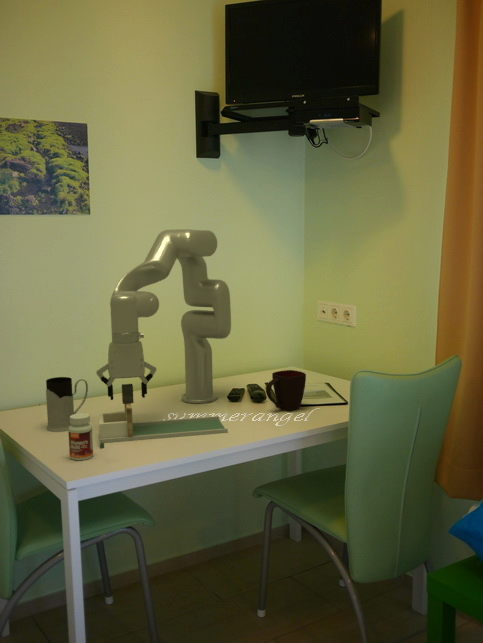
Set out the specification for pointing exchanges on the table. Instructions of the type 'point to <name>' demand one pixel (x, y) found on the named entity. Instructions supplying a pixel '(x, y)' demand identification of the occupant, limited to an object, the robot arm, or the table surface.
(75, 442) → the pill bottle
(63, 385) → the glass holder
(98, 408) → the table surface
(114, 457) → the table surface
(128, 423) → the striker
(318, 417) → the table surface
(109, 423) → the pitch
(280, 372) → the cup
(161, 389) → the table surface
